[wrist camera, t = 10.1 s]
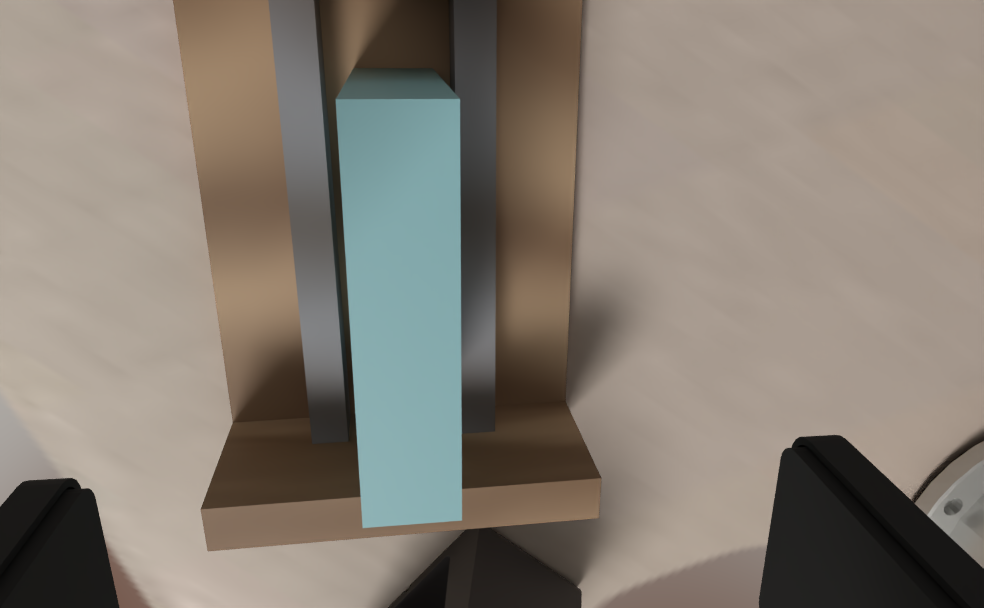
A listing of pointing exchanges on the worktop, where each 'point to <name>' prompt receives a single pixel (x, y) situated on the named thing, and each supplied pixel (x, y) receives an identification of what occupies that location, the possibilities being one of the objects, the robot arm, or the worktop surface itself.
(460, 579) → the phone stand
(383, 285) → the door panel
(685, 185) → the worktop surface
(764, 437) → the worktop surface
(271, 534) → the cabinet track
